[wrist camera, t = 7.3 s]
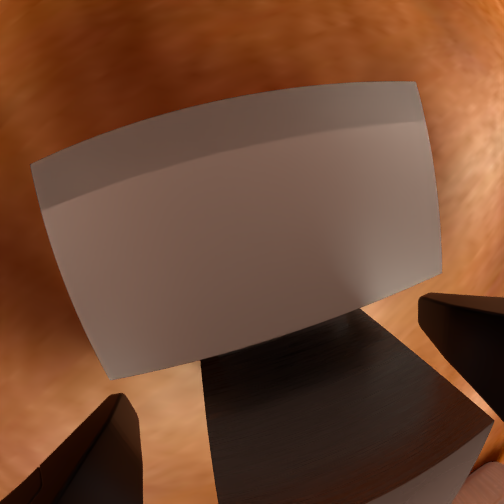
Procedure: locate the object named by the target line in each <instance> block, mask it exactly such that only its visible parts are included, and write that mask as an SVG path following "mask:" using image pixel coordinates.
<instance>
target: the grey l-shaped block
mask: <svg viewBox="0 0 504 504" xmlns="http://www.w3.org/2000/svg"><path fill="white" fill-rule="evenodd" d="M200 361H201V372H202V382H203V392H204V402H205V411H206V419H207V428H208V436H209V443H210V451H211V458H212V465H213V472H214V479H215V485H216V491H217V498H218V504H451V503H452V502H453V500H454V499H455V497H456V495H457V494H458V492H459V490H460V489H461V487H462V485H463V484H464V482H465V480H466V478H467V477H468V475H469V473H470V471H471V469H472V468H473V466H474V464H475V462H476V460H477V458H478V456H479V454H480V452H481V450H482V448H483V446H484V444H485V441H486V439H487V437H488V435H489V433H490V430H491V428H492V426H493V423H494V420H493V419H492V418H491V417H490V416H489V415H487V414H486V413H485V412H484V411H483V410H482V409H480V408H479V407H478V406H477V405H476V404H475V403H473V402H472V401H471V400H470V399H469V398H468V397H466V396H465V395H464V394H463V393H462V392H461V391H459V390H458V389H457V388H456V387H455V386H453V385H452V384H451V383H450V382H449V381H448V380H446V379H445V378H444V377H443V376H442V375H440V374H439V373H438V372H437V371H436V370H434V369H433V368H432V367H431V366H430V365H428V364H427V363H426V362H425V361H424V360H422V359H421V358H420V357H419V356H418V355H416V354H415V353H414V352H413V351H411V350H410V349H409V348H408V347H407V346H405V345H404V344H403V343H402V342H401V341H399V340H398V339H397V338H396V337H394V336H393V335H392V334H391V333H389V332H388V331H387V330H386V329H385V328H383V327H382V326H381V325H380V324H378V323H377V322H376V321H375V320H373V319H372V318H371V317H370V316H368V315H367V314H366V313H365V312H364V311H362V310H361V309H360V308H358V309H356V310H353V311H351V312H348V313H345V314H343V315H340V316H337V317H335V318H332V319H329V320H326V321H324V322H321V323H318V324H315V325H312V326H309V327H307V328H304V329H301V330H298V331H295V332H292V333H289V334H286V335H283V336H280V337H277V338H273V339H270V340H267V341H264V342H261V343H257V344H254V345H251V346H248V347H244V348H241V349H237V350H234V351H231V352H227V353H223V354H220V355H216V356H213V357H209V358H205V359H201V360H200Z"/></svg>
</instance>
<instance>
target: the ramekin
mask: <svg viewBox="0 0 504 504" xmlns="http://www.w3.org/2000/svg"><path fill="white" fill-rule="evenodd" d="M451 504H504V465H503V464H501V463H499V462H488V463H486V464H484V465H483V466H481V467H480V468H478V469H477V470H476V471H474V472H473V473H472V474H470V475H469V476H468V477H467V478H466V480H465V482H464V484H463V485H462V487H461V489H460V490H459V492H458V494H457V495H456V497H455V499H454V500H453V502H452V503H451Z"/></svg>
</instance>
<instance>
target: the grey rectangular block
mask: <svg viewBox="0 0 504 504" xmlns="http://www.w3.org/2000/svg"><path fill="white" fill-rule="evenodd" d="M30 167H31V171H32V176H33V181H34V185H35V190H36V194H37V198H38V202H39V206H40V209H41V213H42V217H43V220H44V224H45V227H46V231H47V234H48V237H49V240H50V243H51V247H52V250H53V253H54V256H55V258H56V261H57V264H58V267H59V270H60V273H61V275H62V278H63V281H64V283H65V286H66V288H67V291H68V293H69V296H70V298H71V301H72V303H73V306H74V308H75V310H76V313H77V315H78V317H79V319H80V322H81V324H82V326H83V328H84V330H85V332H86V335H87V337H88V339H89V341H90V343H91V345H92V347H93V349H94V351H95V353H96V355H97V357H98V359H99V361H100V363H101V365H102V367H103V368H104V370H105V372H106V374H107V376H108V378H109V379H110V380H115V379H120V378H125V377H130V376H134V375H139V374H144V373H148V372H153V371H157V370H161V369H166V368H170V367H174V366H178V365H182V364H186V363H190V362H194V361H198V360H201V359H205V358H209V357H213V356H216V355H220V354H223V353H227V352H231V351H234V350H237V349H241V348H244V347H248V346H251V345H254V344H257V343H261V342H264V341H267V340H270V339H273V338H277V337H280V336H283V335H286V334H289V333H292V332H295V331H298V330H301V329H304V328H307V327H309V326H312V325H315V324H318V323H321V322H324V321H326V320H329V319H332V318H335V317H337V316H340V315H343V314H345V313H348V312H351V311H353V310H356V309H358V308H361V307H364V306H366V305H369V304H371V303H374V302H376V301H379V300H381V299H384V298H386V297H388V296H391V295H393V294H396V293H398V292H400V291H403V290H405V289H407V288H410V287H412V286H414V285H416V284H419V283H421V282H423V281H425V280H428V279H430V278H432V277H434V276H436V275H439V274H441V273H442V249H441V229H440V215H439V204H438V194H437V186H436V178H435V171H434V164H433V158H432V152H431V146H430V141H429V136H428V130H427V126H426V121H425V116H424V112H423V108H422V104H421V100H420V96H419V92H418V88H417V84H416V82H407V81H383V82H354V83H338V84H325V85H315V86H305V87H297V88H289V89H281V90H274V91H268V92H261V93H255V94H250V95H244V96H239V97H233V98H228V99H224V100H219V101H214V102H210V103H205V104H201V105H197V106H193V107H189V108H185V109H181V110H177V111H173V112H170V113H166V114H162V115H159V116H155V117H152V118H149V119H145V120H142V121H139V122H136V123H133V124H130V125H127V126H124V127H121V128H118V129H115V130H112V131H109V132H106V133H104V134H101V135H98V136H95V137H93V138H90V139H88V140H85V141H82V142H80V143H77V144H75V145H72V146H70V147H68V148H65V149H63V150H61V151H58V152H56V153H54V154H51V155H49V156H47V157H45V158H43V159H40V160H38V161H36V162H34V163H32V164H30Z"/></svg>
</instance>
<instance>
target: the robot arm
mask: <svg viewBox="0 0 504 504" xmlns="http://www.w3.org/2000/svg"><path fill="white" fill-rule="evenodd" d="M418 323H419V325H420V327H421V329H422V330H423V331H424V332H425V334H426V335H427V336H428V337H429V339H430V340H431V341H432V342H433V344H434V345H435V346H436V348H437V349H438V350H439V351H440V353H441V354H442V355H443V356H444V358H445V359H446V360H447V361H448V362H449V363H450V364H451V365H452V366H453V367H454V368H455V369H456V370H457V372H458V373H459V374H460V375H461V376H462V377H463V378H464V379H465V380H466V381H467V382H468V383H469V384H470V385H471V386H472V388H473V389H474V390H475V391H476V392H477V393H478V394H479V395H480V396H481V397H482V398H483V400H484V401H485V402H486V403H487V404H488V405H489V406H490V407H491V408H492V410H493V411H494V412H495V413H496V414H497V415H498V416H499V417H500V419H501V420H502V421H503V422H504V298H503V297H487V296H472V295H457V294H444V293H427V294H425V295H423V296H421V297H420V298H419V300H418ZM0 504H143V462H142V451H141V441H140V429H139V419H138V416H137V413H136V412H135V410H134V408H133V407H132V405H131V403H130V402H129V400H128V398H127V397H126V395H125V394H123V393H118V394H112V395H110V396H108V397H107V398H106V399H105V400H104V401H103V402H102V404H101V405H100V406H99V407H98V408H97V409H96V410H95V411H94V412H93V413H92V414H91V415H90V416H89V417H88V418H87V419H86V420H85V421H84V422H83V423H82V424H81V425H80V426H79V427H78V428H77V429H76V430H75V431H74V432H73V433H72V434H71V435H70V436H69V437H68V438H67V439H66V440H65V441H64V442H63V443H62V444H61V445H60V446H59V447H58V448H57V449H56V450H55V451H54V452H53V453H52V454H51V455H50V456H49V457H48V458H47V459H46V460H45V461H44V462H43V463H42V464H41V465H40V467H37V468H36V470H35V471H34V472H33V473H32V474H31V475H30V476H28V477H27V478H26V479H25V480H24V481H23V482H22V483H21V484H20V485H19V486H18V487H17V488H15V489H14V490H13V491H12V492H11V493H10V494H9V495H7V496H6V497H5V498H4V499H2V500H1V501H0Z"/></svg>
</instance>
